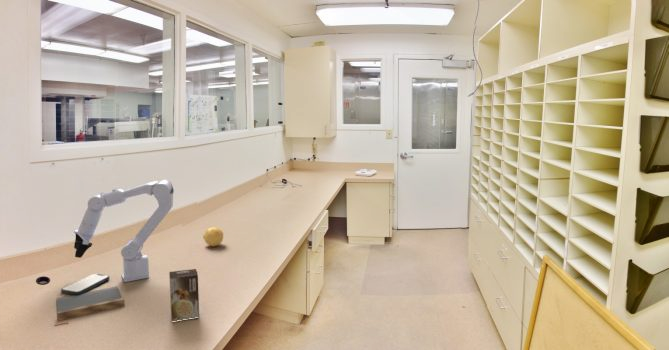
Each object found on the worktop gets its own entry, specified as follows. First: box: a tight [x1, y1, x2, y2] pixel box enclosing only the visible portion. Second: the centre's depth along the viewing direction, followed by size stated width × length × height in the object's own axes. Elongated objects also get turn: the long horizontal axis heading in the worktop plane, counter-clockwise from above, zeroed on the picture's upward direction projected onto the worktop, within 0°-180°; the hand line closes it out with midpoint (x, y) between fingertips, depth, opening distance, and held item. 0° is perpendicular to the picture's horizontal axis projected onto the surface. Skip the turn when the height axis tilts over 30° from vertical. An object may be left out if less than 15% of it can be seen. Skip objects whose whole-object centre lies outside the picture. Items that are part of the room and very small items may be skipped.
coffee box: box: [168, 268, 200, 322], centre depth 138 cm, size 9×6×16 cm
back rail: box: [57, 297, 126, 322], centre depth 140 cm, size 20×2×2 cm, turn 126°
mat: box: [56, 286, 123, 312], centre depth 148 cm, size 20×18×1 cm
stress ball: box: [203, 226, 224, 248], centre depth 210 cm, size 10×10×10 cm
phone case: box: [60, 273, 110, 295], centre depth 159 cm, size 9×2×16 cm
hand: (77, 252), depth 163 cm, fingers open, 7 cm apart
